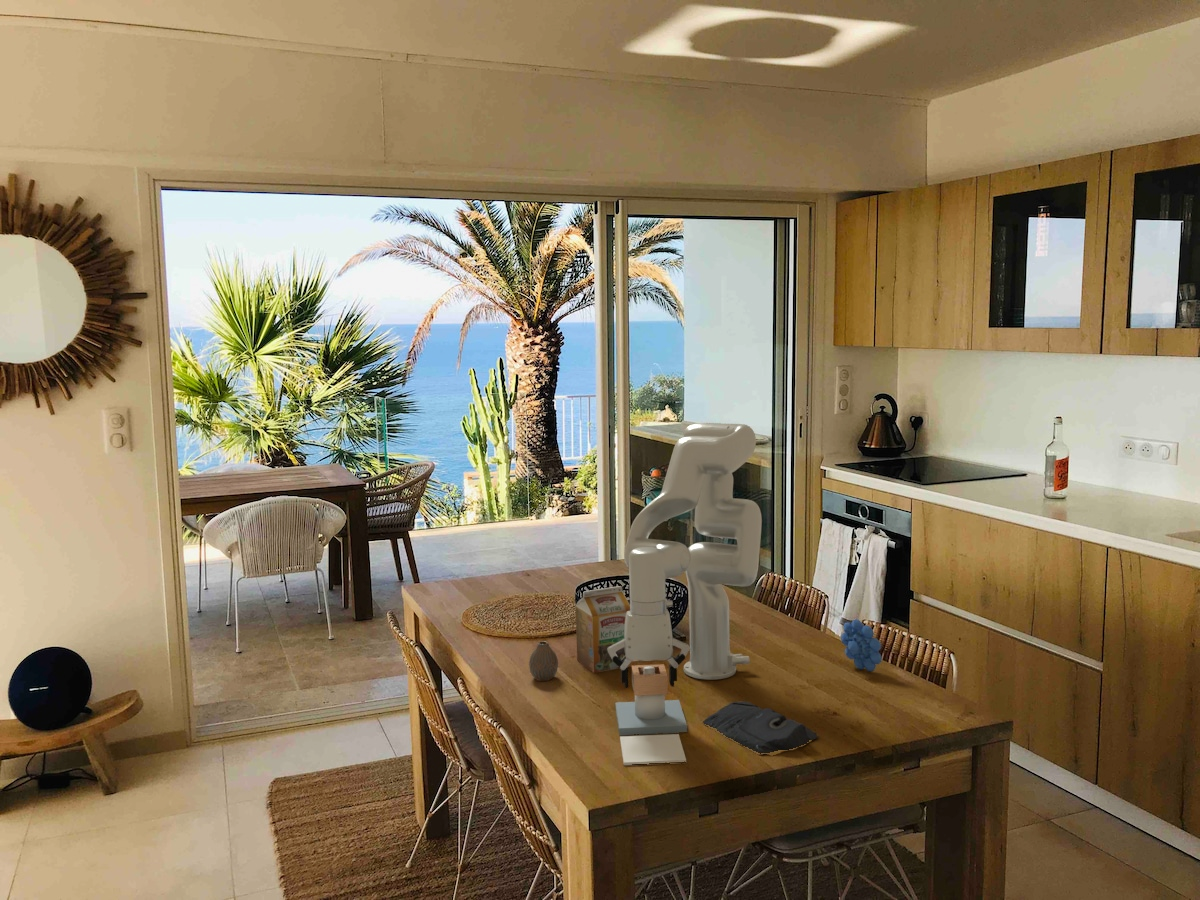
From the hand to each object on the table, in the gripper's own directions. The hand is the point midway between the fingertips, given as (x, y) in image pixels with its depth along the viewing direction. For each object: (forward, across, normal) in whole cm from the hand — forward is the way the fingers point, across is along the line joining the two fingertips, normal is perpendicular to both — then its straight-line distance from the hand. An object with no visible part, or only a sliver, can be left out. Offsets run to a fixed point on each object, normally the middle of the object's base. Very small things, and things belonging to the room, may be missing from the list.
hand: (649, 685), depth 210 cm
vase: (+8, +23, -28) cm, 37 cm away
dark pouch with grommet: (+8, -22, +8) cm, 25 cm away
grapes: (+8, -52, -25) cm, 59 cm away
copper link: (+1, 0, 0) cm, 1 cm away
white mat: (+8, +1, +15) cm, 17 cm away
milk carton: (+8, +8, -37) cm, 39 cm away
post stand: (+8, 0, 0) cm, 8 cm away
